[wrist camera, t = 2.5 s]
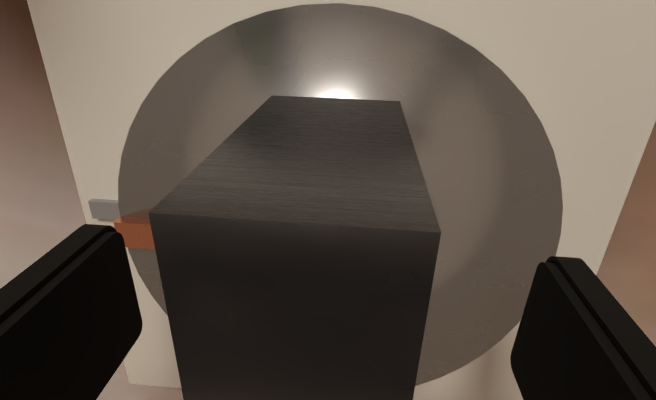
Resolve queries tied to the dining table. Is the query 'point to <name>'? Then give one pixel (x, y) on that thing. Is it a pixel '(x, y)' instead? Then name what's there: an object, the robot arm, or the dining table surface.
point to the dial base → (422, 3)
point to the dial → (335, 205)
